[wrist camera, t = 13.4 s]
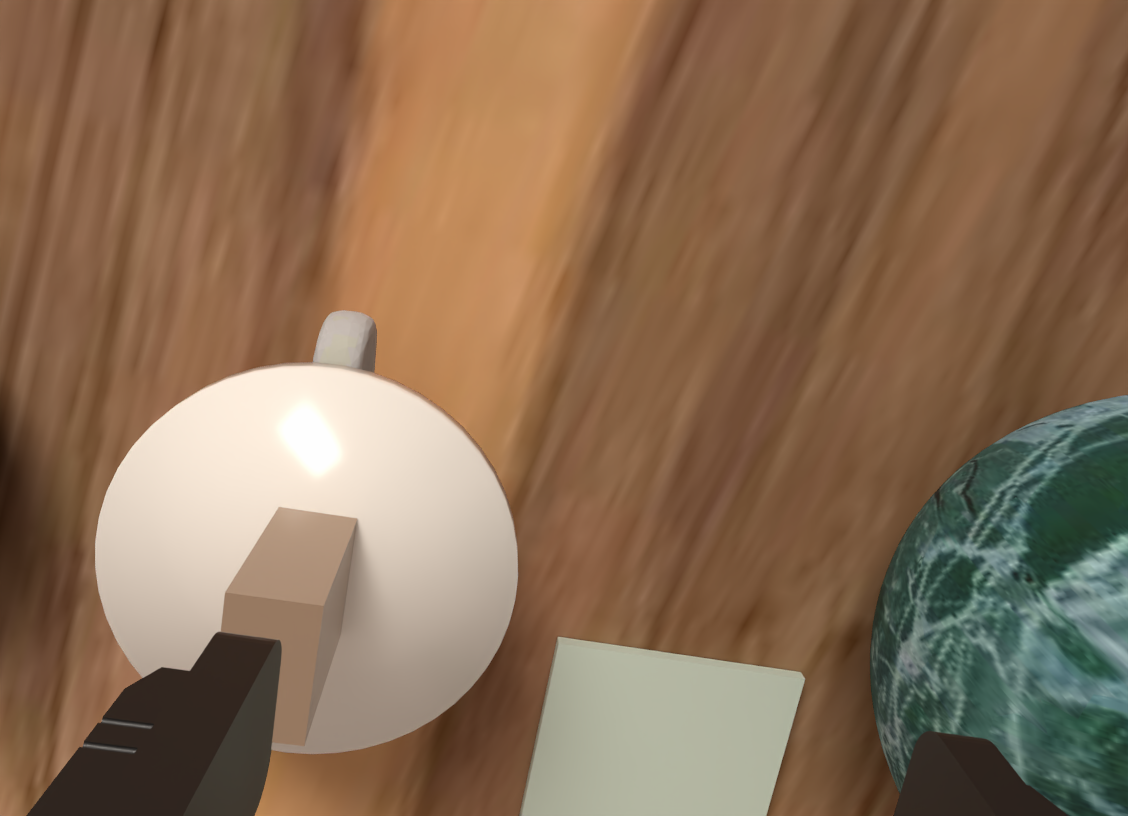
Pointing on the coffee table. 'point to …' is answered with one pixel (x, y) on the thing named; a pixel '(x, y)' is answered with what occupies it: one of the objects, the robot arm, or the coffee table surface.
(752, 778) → the mat
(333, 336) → the teacup
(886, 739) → the decorative sphere
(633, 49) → the coffee table surface
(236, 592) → the lid
